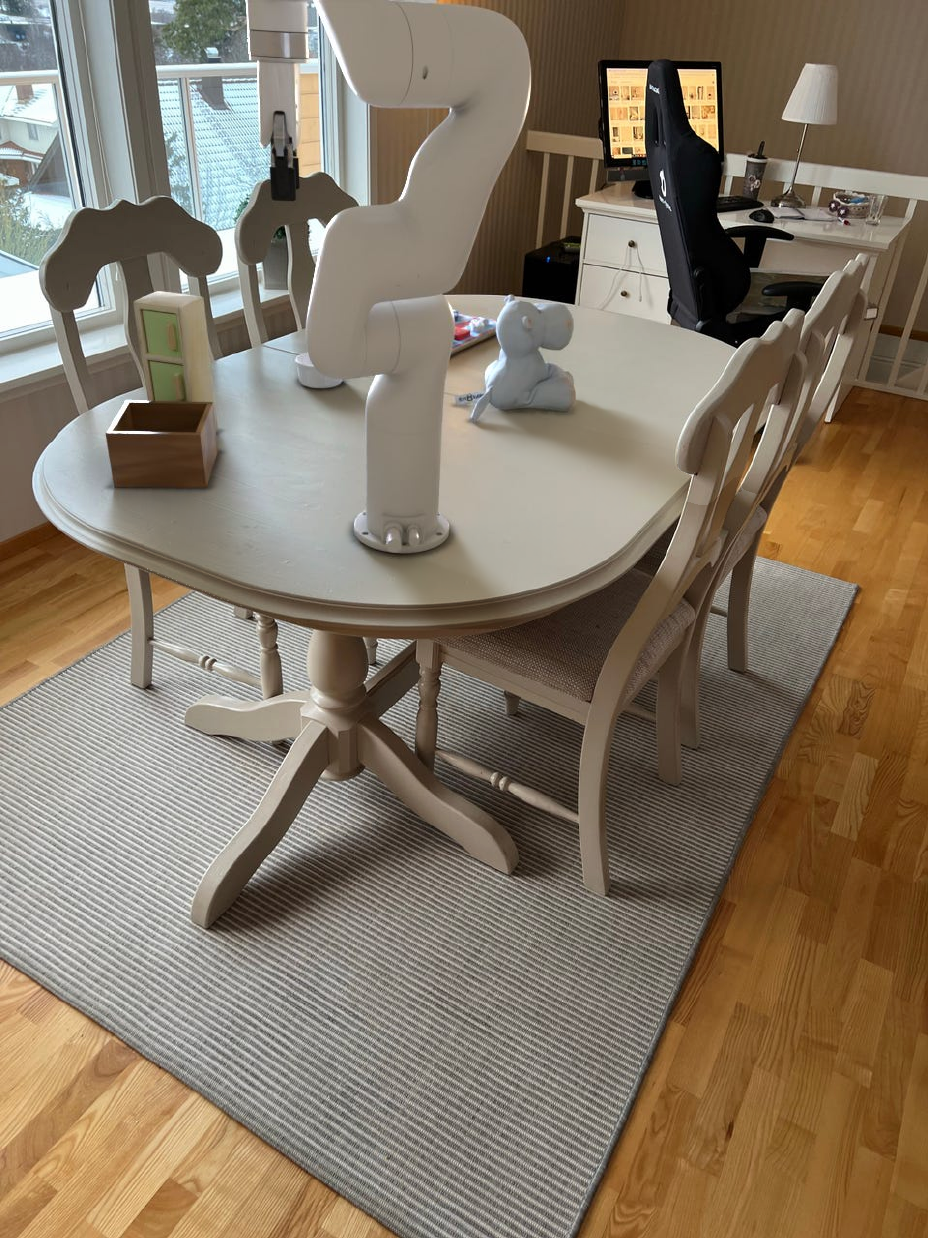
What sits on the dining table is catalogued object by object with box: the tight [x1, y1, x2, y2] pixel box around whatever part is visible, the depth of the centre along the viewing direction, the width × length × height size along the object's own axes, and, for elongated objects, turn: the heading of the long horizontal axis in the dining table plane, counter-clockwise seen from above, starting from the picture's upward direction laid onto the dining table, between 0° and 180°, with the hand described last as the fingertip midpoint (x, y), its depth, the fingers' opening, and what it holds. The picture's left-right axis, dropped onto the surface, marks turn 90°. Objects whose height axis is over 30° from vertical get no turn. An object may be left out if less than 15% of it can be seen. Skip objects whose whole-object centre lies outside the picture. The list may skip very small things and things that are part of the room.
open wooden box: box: [105, 399, 219, 489], centre depth 135 cm, size 13×13×8 cm
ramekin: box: [294, 351, 343, 389], centre depth 170 cm, size 9×9×4 cm
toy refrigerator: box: [132, 290, 219, 432], centre depth 142 cm, size 8×7×21 cm
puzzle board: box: [450, 309, 497, 357], centre depth 198 cm, size 30×23×3 cm
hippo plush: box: [454, 294, 577, 422], centre depth 164 cm, size 18×23×18 cm
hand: (286, 194), depth 128 cm, fingers open, 9 cm apart
